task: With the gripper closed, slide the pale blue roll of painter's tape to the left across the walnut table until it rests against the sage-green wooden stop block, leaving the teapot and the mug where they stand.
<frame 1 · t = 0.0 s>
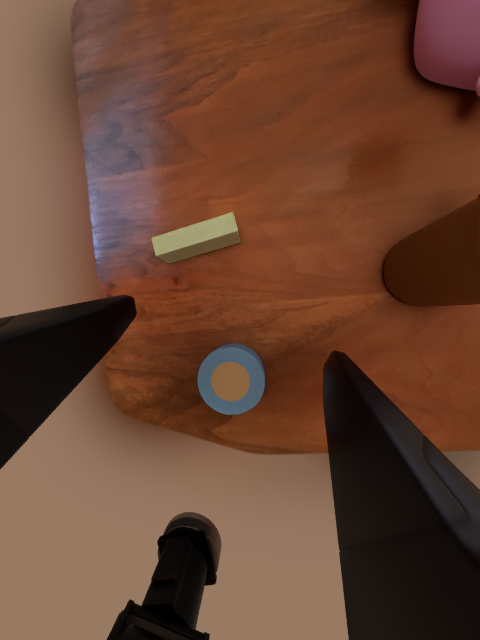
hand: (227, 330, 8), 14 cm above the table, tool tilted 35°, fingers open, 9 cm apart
tape roll: (234, 372, 22), on the table
teapot: (475, 13, 19), on the table
stop block: (202, 245, 23), on the table
mug: (424, 252, 20), on the table
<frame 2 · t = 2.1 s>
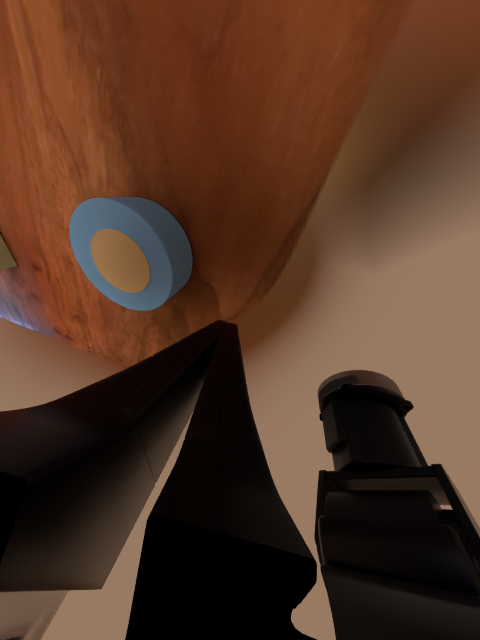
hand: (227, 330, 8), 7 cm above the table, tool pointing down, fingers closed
tape roll: (149, 251, 14), on the table
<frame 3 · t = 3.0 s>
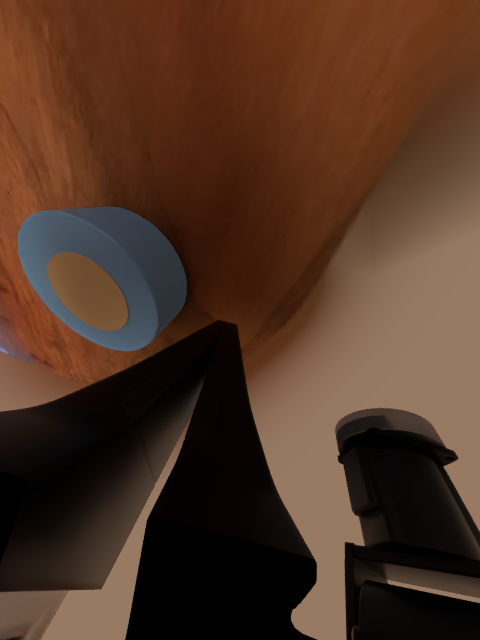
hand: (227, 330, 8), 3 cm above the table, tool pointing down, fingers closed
tape roll: (133, 274, 11), on the table
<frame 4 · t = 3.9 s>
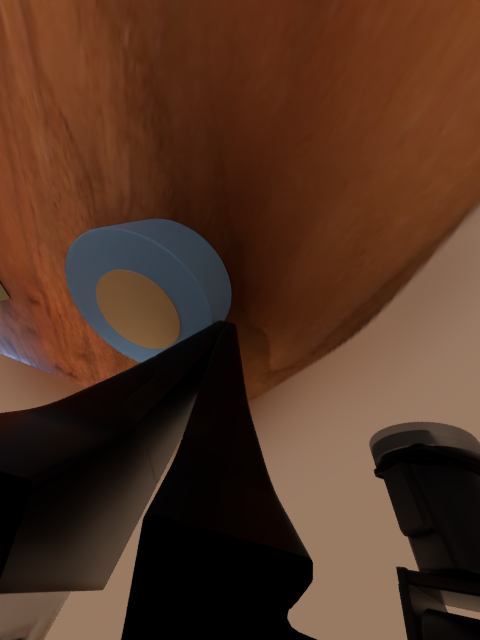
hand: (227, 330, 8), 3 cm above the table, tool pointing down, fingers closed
tape roll: (173, 287, 11), on the table, touching gripper
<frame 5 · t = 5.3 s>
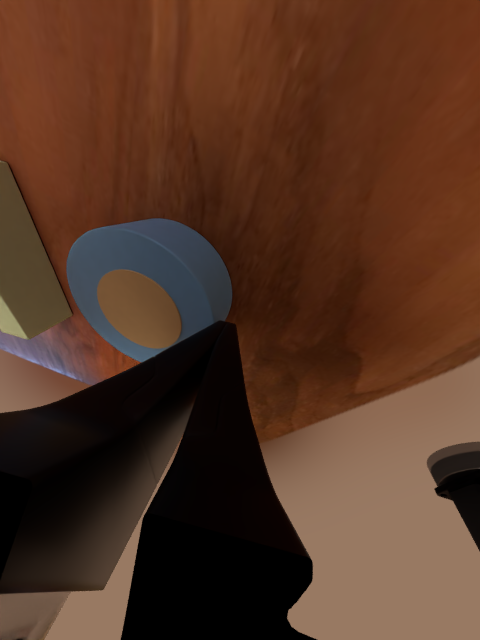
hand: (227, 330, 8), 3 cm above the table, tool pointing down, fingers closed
tape roll: (173, 286, 11), on the table, touching gripper
stop block: (33, 252, 12), on the table
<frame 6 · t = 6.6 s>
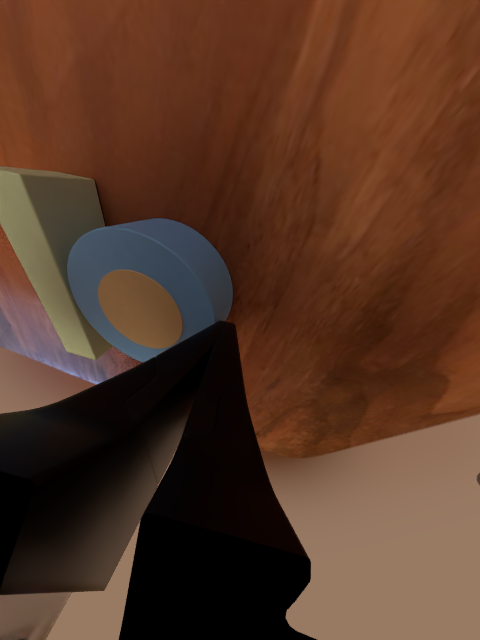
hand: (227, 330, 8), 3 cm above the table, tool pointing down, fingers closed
tape roll: (174, 286, 11), on the table, touching gripper
stop block: (101, 268, 11), on the table
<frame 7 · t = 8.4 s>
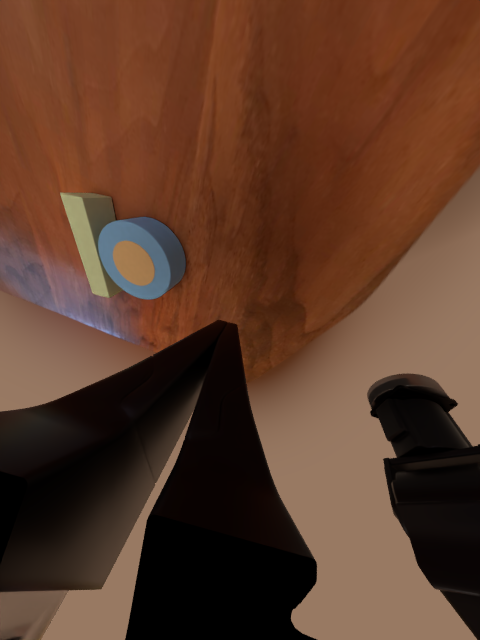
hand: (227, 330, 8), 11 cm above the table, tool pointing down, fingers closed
tape roll: (154, 255, 19), on the table
stop block: (113, 245, 20), on the table
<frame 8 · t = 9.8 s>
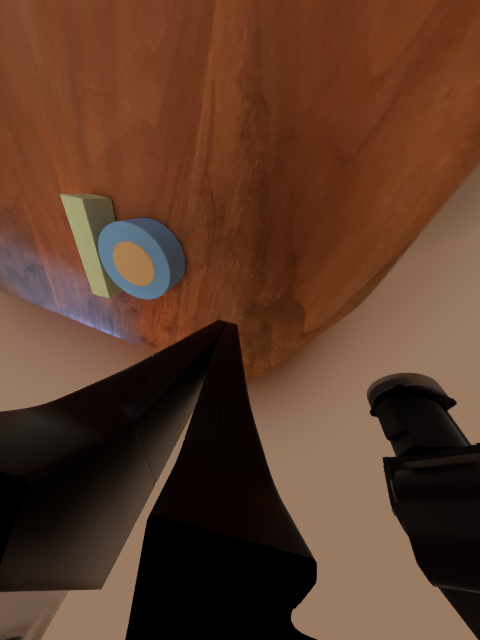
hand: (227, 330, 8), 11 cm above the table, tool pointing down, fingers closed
tape roll: (153, 256, 20), on the table
stop block: (112, 246, 20), on the table
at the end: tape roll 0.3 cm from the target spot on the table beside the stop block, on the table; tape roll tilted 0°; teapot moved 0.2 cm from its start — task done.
